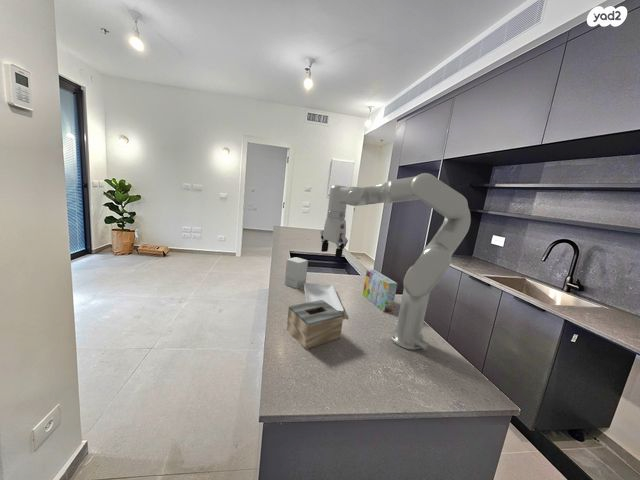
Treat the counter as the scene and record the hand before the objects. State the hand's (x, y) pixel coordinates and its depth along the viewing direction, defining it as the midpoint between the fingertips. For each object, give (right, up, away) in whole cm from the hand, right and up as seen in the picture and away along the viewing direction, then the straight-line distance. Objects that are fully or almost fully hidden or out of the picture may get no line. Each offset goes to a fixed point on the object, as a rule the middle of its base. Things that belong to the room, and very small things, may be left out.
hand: (331, 254), depth 115 cm
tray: (-4, -25, +20) cm, 32 cm away
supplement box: (-19, -20, +37) cm, 46 cm away
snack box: (+25, -27, +25) cm, 45 cm away
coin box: (-8, -30, -11) cm, 33 cm away
